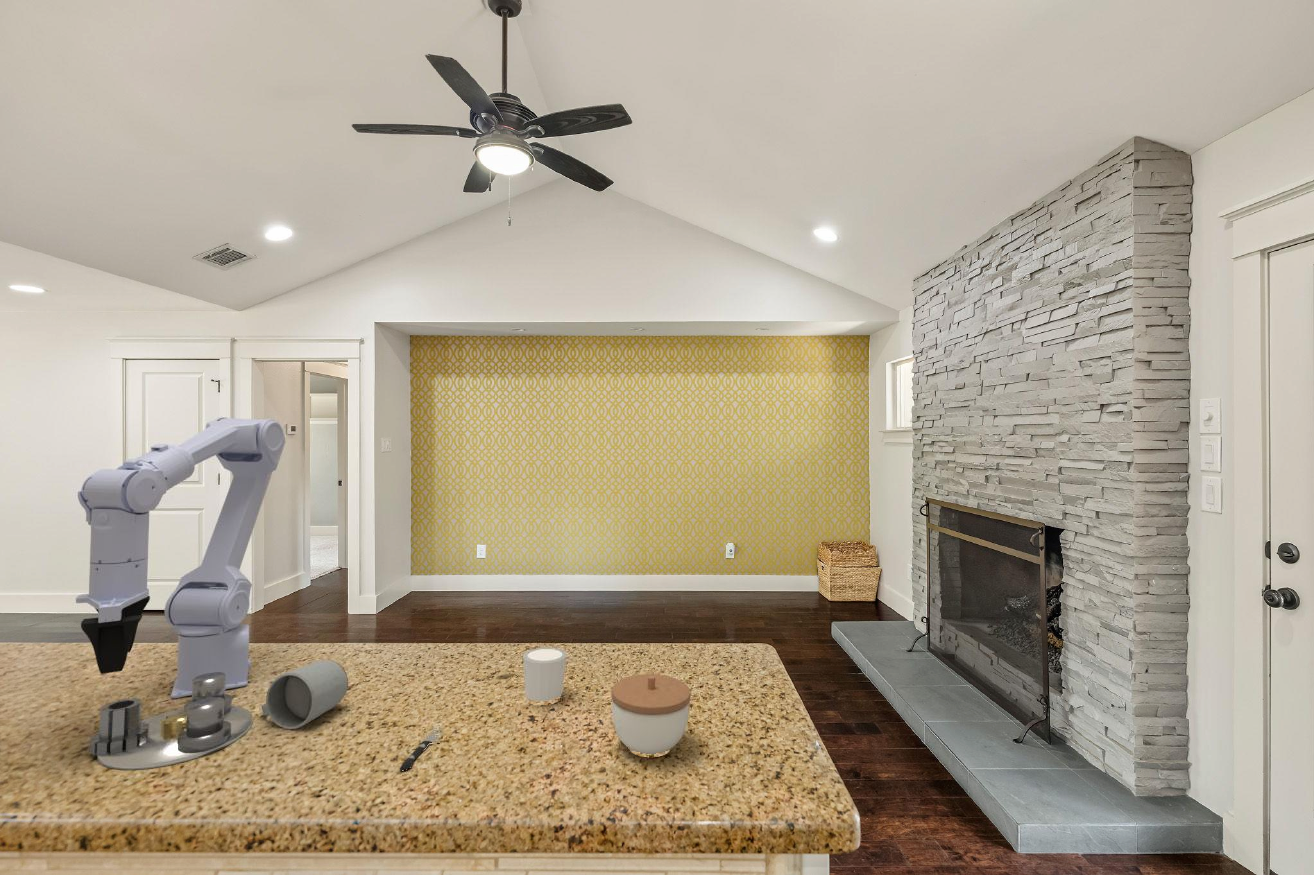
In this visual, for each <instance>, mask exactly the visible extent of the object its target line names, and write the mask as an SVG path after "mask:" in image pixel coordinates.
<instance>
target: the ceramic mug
mask: <svg viewBox="0 0 1314 875" xmlns="http://www.w3.org/2000/svg"><path fill="white" fill-rule="evenodd" d="M348 689H349V677H348V674H347V671H346V670H345V669H344V667H343V666H342V665H341V664H340V663H338V662H337V661H334V660H331V659H323V660H317V661H314V662H312V663H308V664H306V665H304V666H301V667H299V668H296V669H295V668H294V669H293V670H290V671H286V672H284V673H282V674H280V675H278V676H277V677H276V678H275V679H274V680H273V681H272V682H271V683H270V685H269V688H268V690H267V692H266V696H265V698H266V699H265V703H264V704H262V705H261V710H262V714H263V716H264V717H266V716H269V717H270V718H271V720H272V721H273V723H274V724H276V725H277V726H278V727H281V729H285V728H286V729H285V730H297V729H300V728H302V727H303V726H305V725H306V724H308V723H310V722H311V721H313V720H315V719H317V718H318V717H320V716H321V715H323V714H324V713H326V712H328V711H330V710H331V709H333V708H334V707H336V706H337V705H338V704H339V703H340V702H342V700H343V699H344V698H345V696H346V694H347V692H348Z"/></svg>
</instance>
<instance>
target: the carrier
mask: <svg viewBox="0 0 1314 875" xmlns="http://www.w3.org/2000/svg"><path fill="white" fill-rule="evenodd" d="M225 682H226V674H225V673H222V672H213V673H207V674H203V675H200V676H197V677H195V678H194V679H193V680H192V695H191V700H189V701H187V702H186V703H185V704H184V705H183V708H181V709H175V710H172V711H168V712H164V713H160V714H157V715H154V716H150V717H147V718H144V719H141V722H142V723H143V722H145V723H147V724H149V737H148V740H146V742H145V743H143V744H142V745H140V746H137V748H134V749H131V750H129V751H124V750H123V751H122V753H118V754H113V755H110V754H108V755H106V756H97V755H96V756H97V762H99V764H100V765H102V766H103V767H107V768H109V769H114V770H123V771H130V770H131V771H134V770H135V771H136V770H138V771H139V770H149V769H157V768H163V767H167V766H172V765H177V764H178V765H179V764H181V763H186V762H188V761H192V760H195V759H199V758H201V757H204V756H207V755H209V754H212V753H215V752H217V751H219V750H221V749H224V748H225V747H228V746H229V745H231V744H233V743H234V742H236V741H238V740H239V739H241V738H242V737H243V736H245V735H246V734H247V733H248V732H249V730H250V729H251V728H252V725H253V722H254V721H253V720H254V718H253V714H252V712H251V711H250V710H248V709H246V708H244V707H240V706H238V705H237V706H236V705H233V696H232V695H231V694H227V693H226V689H225Z"/></svg>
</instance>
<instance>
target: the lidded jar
mask: <svg viewBox="0 0 1314 875" xmlns="http://www.w3.org/2000/svg"><path fill="white" fill-rule="evenodd" d="M691 695H692V694H691V689H690V688H689V686H688V685H687V684H686V683H685V682H684V681H682V680H680V679H677V678H676V677H671V676H668V675H663V674H652V673H651V674H650V673H649V674H648V673H647V674H646V673H644V674H643V673H642V674H634V675H629V676H626V677H623V678H621V679H619V680H617V681H616V682H615V684H613V686H612V687H611V714H612V721H613V726H614V730H615V732H616V734H617V736H618V738H619V740H620V741H621V743H622V744H624V746H626V748H627V747H628V748H629V749H631V750H633V751H636V752H640V753H646V754H656V753H662V752H665V751H668V750H670V749H671V748H672V749H673V748H674V747H675V746H676V745H677V744H678V743H679V742H680V741H681V739H682V738H683V736H684V734H685V732H686V729H687V725H688V721H689V716H690V702H691ZM672 749H671V750H672Z"/></svg>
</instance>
